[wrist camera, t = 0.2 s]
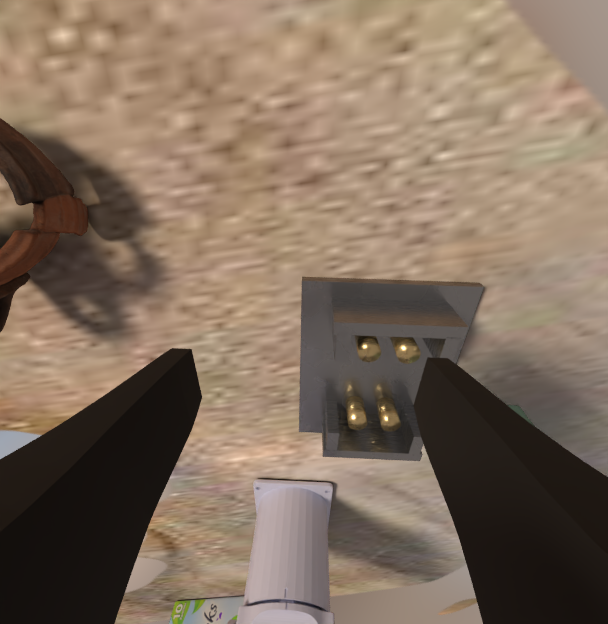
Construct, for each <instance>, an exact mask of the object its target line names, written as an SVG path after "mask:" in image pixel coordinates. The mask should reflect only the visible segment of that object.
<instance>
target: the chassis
mask: <svg viewBox="0 0 608 624" xmlns="http://www.w3.org/2000/svg"><path fill="white" fill-rule="evenodd" d="M483 289H484V286H482V285H481V284H480V283H468V282H438V281H409V280H379V279H349V278H320V277H302V306H301V358H300V411H299V432H315V433H322V445H323V457H343V458H364V459H386V460H407V461H420V460H421V457H422V452H421V449H422V446H423V441H422V438H421V435H420V431H419V427H418V423H417V419H416V415H415V410H414V406H413V405H414V402H415V398H416V395H417V391H418V388H419V384H420V381H421V377H422V374H423V371H424V367H425V364H426V360H427V357H431V358H448V359H450V360H451V361H452V362H454V363H455V364H456V362H457V360H458V357H459V354H460V352H461V349H462V346H463V343H464V341H465V338H466V335H467V332H468V330H469V327H470V324H471V321H472V319H473V316H474V313H475V311H476V308H477V305H478V302H479V300H480V297H481V294H482V291H483Z"/></svg>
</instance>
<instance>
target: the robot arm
mask: <svg viewBox="0 0 608 624" xmlns="http://www.w3.org/2000/svg"><path fill="white" fill-rule="evenodd" d="M201 399H202V395H201V390H200V386H199V381H198V377H197V372H196V368H195V363H194V359H193V354H192V349H175V348H172V349H170V350H169V351H167V352H166V353H164V354H163V355H161V356H160V357H158V358H157V359H155V360H154V361H153V362H151V363H150V364H148V365H147V366H146V367H144V368H143V369H141V370H140V371H139V372H137V373H136V374H134V375H133V376H132V377H130V378H129V379H127V380H126V381H124V382H123V383H122V384H120V385H119V386H117V387H116V388H115V389H113V390H112V391H110V392H109V393H107V394H106V395H104V396H103V397H101V398H100V399H98V400H97V401H95V402H94V403H92V404H91V405H89V406H88V407H86V408H85V409H83V410H82V411H80V412H79V413H77V414H75V415H74V416H72V417H71V418H69V419H68V420H66V421H65V422H63V423H62V424H60V425H58V426H57V427H55V428H54V429H52V430H50V431H49V432H47V433H45V434H44V435H42V436H40V437H39V438H37V439H36V440H33V441H32V442H30V443H28V444H27V445H25V446H23V447H21V448H20V449H18V450H16V451H14V452H13V453H11V454H9V455H7V456H5V457H4V458H2V459H0V624H114V623H115V620H116V617H117V614H118V611H119V608H120V605H121V602H122V599H123V596H124V593H125V590H126V587H127V584H128V581H129V578H130V575H131V572H132V570H133V567H134V563H135V561H136V558H137V556H138V553H139V550H140V547H141V545H142V542H143V539H144V536H145V534H146V531H147V528H148V525H149V523H150V520H151V518H152V516H153V513H154V511H155V508H156V506H157V504H158V502H159V499H160V497H161V495H162V493H163V491H164V489H165V487H166V484H167V482H168V480H169V478H170V476H171V474H172V471H173V469H174V467H175V465H176V463H177V461H178V459H179V456H180V454H181V452H182V450H183V448H184V445H185V443H186V441H187V439H188V437H189V434H190V432H191V430H192V427H193V424H194V421H195V418H196V416H197V412H198V409H199V406H200V402H201ZM413 406H414V410H415V415H416V419H417V423H418V427H419V431H420V435H421V438H422V441H423V444H424V446H425V449H426V452H427V454H428V457H429V460H430V462H431V465H432V467H433V470H434V473H435V475H436V478H437V480H438V483H439V485H440V488H441V491H442V493H443V496H444V498H445V501H446V503H447V506H448V509H449V511H450V514H451V516H452V519H453V522H454V525H455V528H456V531H457V533H458V536H459V539H460V543H461V546H462V550H463V553H464V556H465V560H466V563H467V567H468V570H469V574H470V577H471V580H472V583H473V588H474V591H475V595H476V599H477V602H478V606H479V609H480V613H481V617H482V621H483V624H608V477H606V476H605V475H603V474H602V473H600V472H599V471H597V470H596V469H594V468H593V467H591V466H590V465H588V464H587V463H585V462H584V461H582V460H581V459H579V458H578V457H576V456H575V455H573V454H572V453H571V452H569V451H568V450H566V449H565V448H563V447H562V446H561V445H559V444H558V443H557V442H555V441H554V440H552V439H551V438H550V437H548V436H547V435H546V434H544V433H543V432H541V431H540V430H539V429H537V428H536V427H535V426H533V425H532V424H531V423H529V422H528V421H527V420H525V419H524V418H523V417H521V416H520V415H519V414H518V413H516V412H515V411H514V410H512V409H511V408H510V407H509V406H507V405H506V404H505V403H504V402H502V401H501V400H500V399H499V398H497V397H496V396H495V395H494V394H492V393H491V392H490V391H489V390H487V389H486V388H485V387H484V386H482V385H481V384H480V383H479V382H478V381H476V380H475V379H474V378H473V377H471V376H470V375H469V374H468V373H466V372H465V371H464V370H463V369H461V368H460V367H459V366H458V365H456V364H455V363H454V362H452V361H451V360H450V359H448V358H431V357H427V360H426V364H425V367H424V371H423V374H422V377H421V381H420V384H419V388H418V391H417V395H416V398H415V402H414V405H413ZM253 486H254V495H255V503H256V512H257V520H256V526H255V532H254V539H253V545H252V551H251V558H250V564H249V570H248V576H247V583H246V589H245V595H244V601H243V606H239V610H238V616H237V620H233V619H231V620H229V621H228V623H227V624H334V613H332V612H330V591H329V559H328V524H329V516H330V508H331V501H332V493H333V485H332V484H331V483H327V482H306V481H285V480H264V479H257V480H255V481H254V484H253Z"/></svg>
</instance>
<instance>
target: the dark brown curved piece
mask: <svg viewBox="0 0 608 624" xmlns="http://www.w3.org/2000/svg"><path fill="white" fill-rule="evenodd" d="M0 172H1V173H2V174H3V176H4V177H5V179H6V180H7V182H8V184H9V186H10V188H11V190H12V192H13V195H14V198H15V200H16V203H17V204H18V205H25V204H28V203H33V204H34V209H33V214H34V220H33V223H32V225H31V228H30V229H29V230H15V231H14V232H13V234H12V235H11V237H10V239H9V240H8V241H7V242H6V244H5V245H4V246H3V247H2V248H1V249H0V332H1V331H2V330H3V328H4V325H5V323H6V320H7V317H8V314H9V310H10V306H11V301H12V298H13V295H14V293H15V291H16V290H17V289H18V288H19V287H21V286H22V285H24V284H26V282H27V281H28V280H29V278H30V275H29V274H28V273H27V271H28V270H30V269H31V268H32V267H33V266H35V265H36V264H37V263H38V262H40V261H41V260H42V259H44V258H45V257H46V256H47V255H48V254H49V253H50V251H51V250H52V249H53V247H54V246H55V244H56V243H57V241H58V239H59V236H60V233H74V234H76V235H78V236H82V235H83V233H85V232H86V231H87V228H88V211H87V207H86V206H85V204H83V203H82V200H81V199H79V198H76V197H73V195H74V190H73V187H72V185H71V184H70V183H69V182H68V181H67V179H66V178H65V177H64V176H63V175H62V173H61V172H60V171H59V170H58V169H57V168H56V167H55V166H54V164H53V163H52V162H51V161H50V160H49V159H48V158H47V157H46V156H45V155H44V154H43V153H42V152H41V151H40V150H39V149H38V148H37V147H36V146H35V145H34V144H32V143H31V142H30V141H29V140H28V139H27V138H26V137H24V136H23V135H22V134H21V133H19V132H18V131H16V130H15V129H14V128H13V127H11V126H10V125H9V124H8V123H6V122H5V121H4V120H2V119H0Z"/></svg>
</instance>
